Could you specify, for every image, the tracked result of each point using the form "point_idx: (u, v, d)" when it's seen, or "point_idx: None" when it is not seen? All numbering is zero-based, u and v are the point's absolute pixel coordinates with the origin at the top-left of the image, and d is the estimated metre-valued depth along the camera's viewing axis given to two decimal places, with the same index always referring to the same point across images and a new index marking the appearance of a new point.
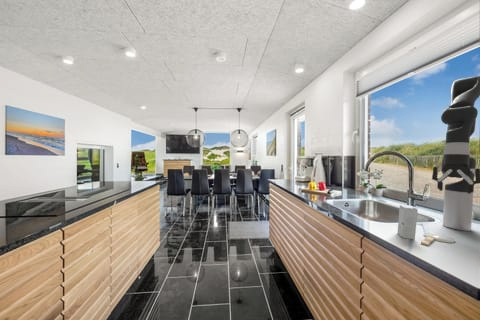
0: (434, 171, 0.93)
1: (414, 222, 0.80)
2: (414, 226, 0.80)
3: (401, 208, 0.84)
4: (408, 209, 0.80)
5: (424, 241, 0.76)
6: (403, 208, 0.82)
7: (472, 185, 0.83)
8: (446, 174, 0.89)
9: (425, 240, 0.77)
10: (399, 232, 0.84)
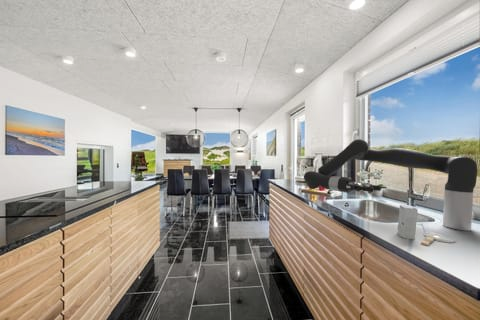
0: None
1: (414, 222, 0.80)
2: (414, 226, 0.80)
3: (401, 208, 0.84)
4: (408, 209, 0.80)
5: (424, 241, 0.76)
6: (403, 208, 0.82)
7: (363, 190, 0.91)
8: None
9: (425, 240, 0.77)
10: (399, 232, 0.84)
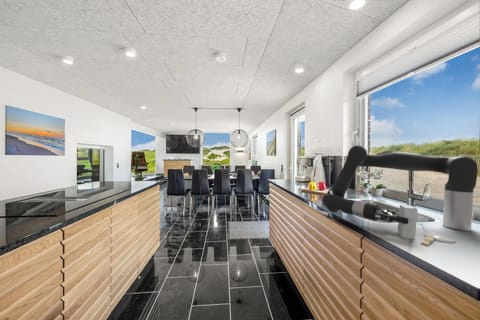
0: None
1: (414, 222, 0.80)
2: (414, 226, 0.80)
3: (401, 208, 0.84)
4: (408, 209, 0.80)
5: (424, 241, 0.76)
6: (403, 208, 0.82)
7: (396, 220, 0.82)
8: None
9: (425, 240, 0.77)
10: (399, 231, 0.84)
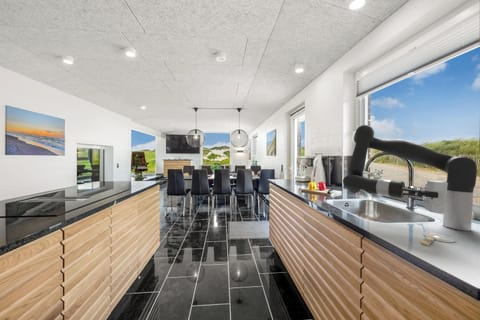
0: None
1: (444, 196, 0.79)
2: (444, 200, 0.79)
3: (429, 183, 0.83)
4: (438, 183, 0.79)
5: (424, 241, 0.76)
6: (432, 183, 0.81)
7: (425, 195, 0.81)
8: None
9: (425, 240, 0.77)
10: (427, 207, 0.83)
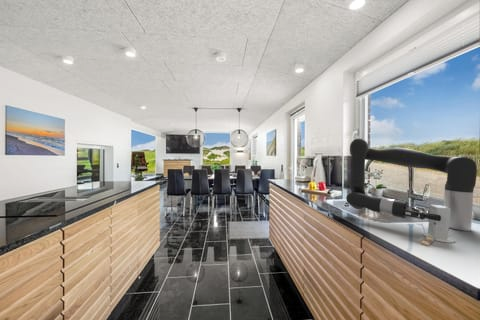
0: None
1: (447, 222, 0.79)
2: (447, 226, 0.79)
3: (432, 208, 0.84)
4: (440, 209, 0.80)
5: (424, 241, 0.76)
6: (435, 208, 0.82)
7: (428, 218, 0.81)
8: None
9: (425, 240, 0.77)
10: (430, 232, 0.84)
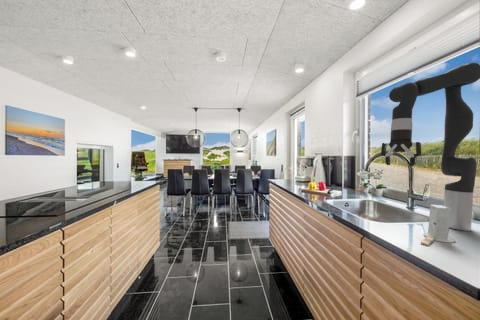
0: (382, 147, 0.97)
1: (447, 222, 0.79)
2: (447, 226, 0.79)
3: (432, 208, 0.84)
4: (441, 209, 0.80)
5: (424, 241, 0.76)
6: (435, 208, 0.82)
7: (413, 158, 0.89)
8: (392, 149, 0.94)
9: (425, 240, 0.77)
10: (430, 232, 0.84)
